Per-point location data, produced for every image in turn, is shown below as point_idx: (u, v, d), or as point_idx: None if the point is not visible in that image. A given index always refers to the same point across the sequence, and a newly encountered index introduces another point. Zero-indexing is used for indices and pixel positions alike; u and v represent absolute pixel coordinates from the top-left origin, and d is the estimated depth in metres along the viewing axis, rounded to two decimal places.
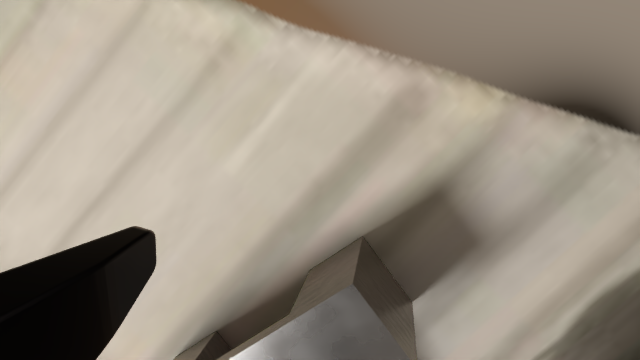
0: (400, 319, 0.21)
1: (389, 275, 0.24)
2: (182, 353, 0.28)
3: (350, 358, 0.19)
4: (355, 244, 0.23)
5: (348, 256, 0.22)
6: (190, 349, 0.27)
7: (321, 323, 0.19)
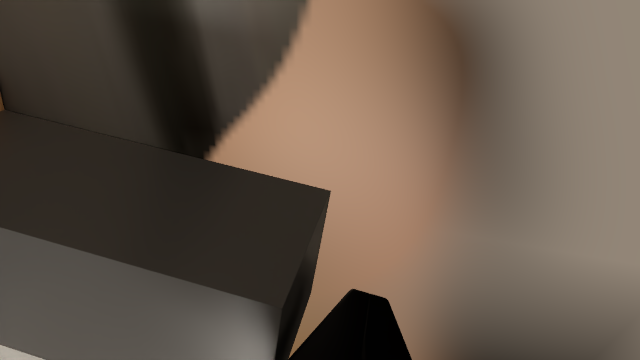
0: None
1: None
2: None
3: None
4: None
5: None
6: None
7: None
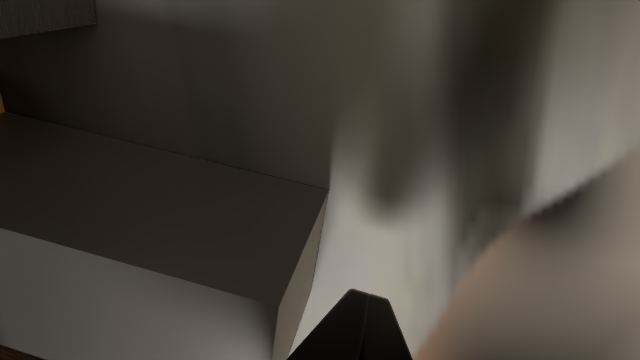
0: None
1: None
2: None
3: None
4: None
5: None
6: None
7: None
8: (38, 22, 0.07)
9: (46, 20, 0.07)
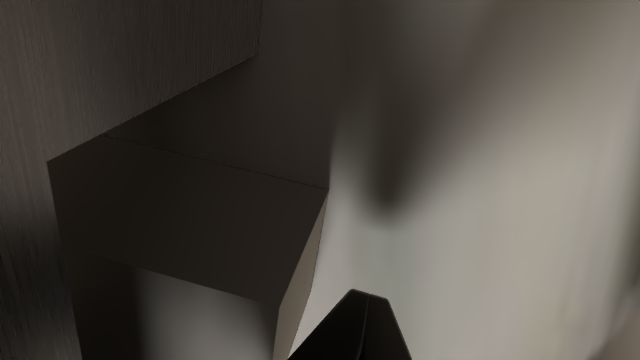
0: None
1: None
2: None
3: None
4: None
5: None
6: None
7: None
8: (227, 59, 0.06)
9: (231, 56, 0.07)
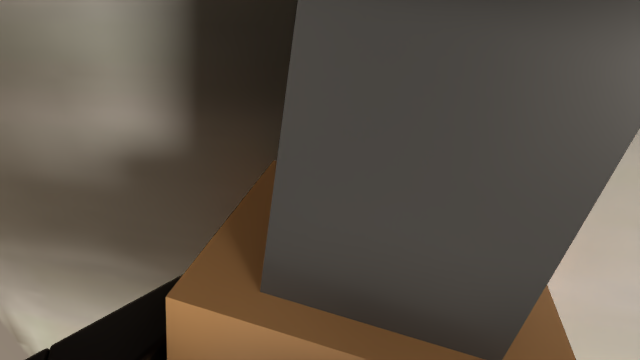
0: None
1: None
2: None
3: None
4: None
5: None
6: None
7: None
8: None
9: None
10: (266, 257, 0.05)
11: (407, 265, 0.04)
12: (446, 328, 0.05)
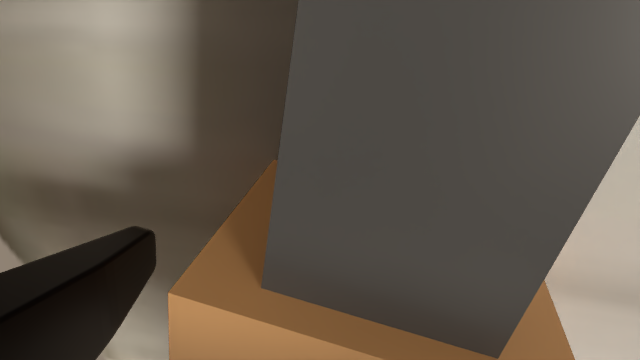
0: None
1: None
2: None
3: None
4: None
5: None
6: None
7: None
8: None
9: None
10: (267, 253, 0.05)
11: (406, 261, 0.05)
12: (445, 323, 0.05)
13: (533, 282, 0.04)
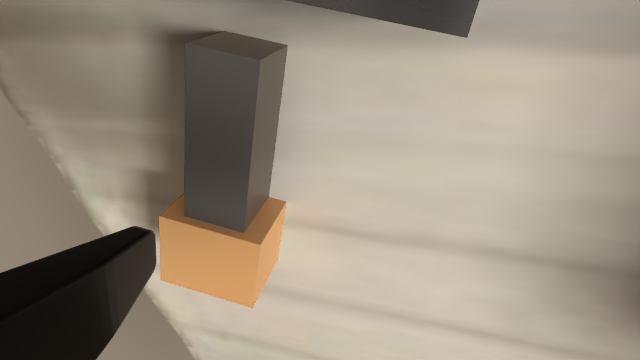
0: None
1: None
2: None
3: None
4: None
5: None
6: None
7: None
8: None
9: None
10: (185, 206, 0.19)
11: (217, 206, 0.19)
12: (229, 223, 0.19)
13: (244, 211, 0.18)
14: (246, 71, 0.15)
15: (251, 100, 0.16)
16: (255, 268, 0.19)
